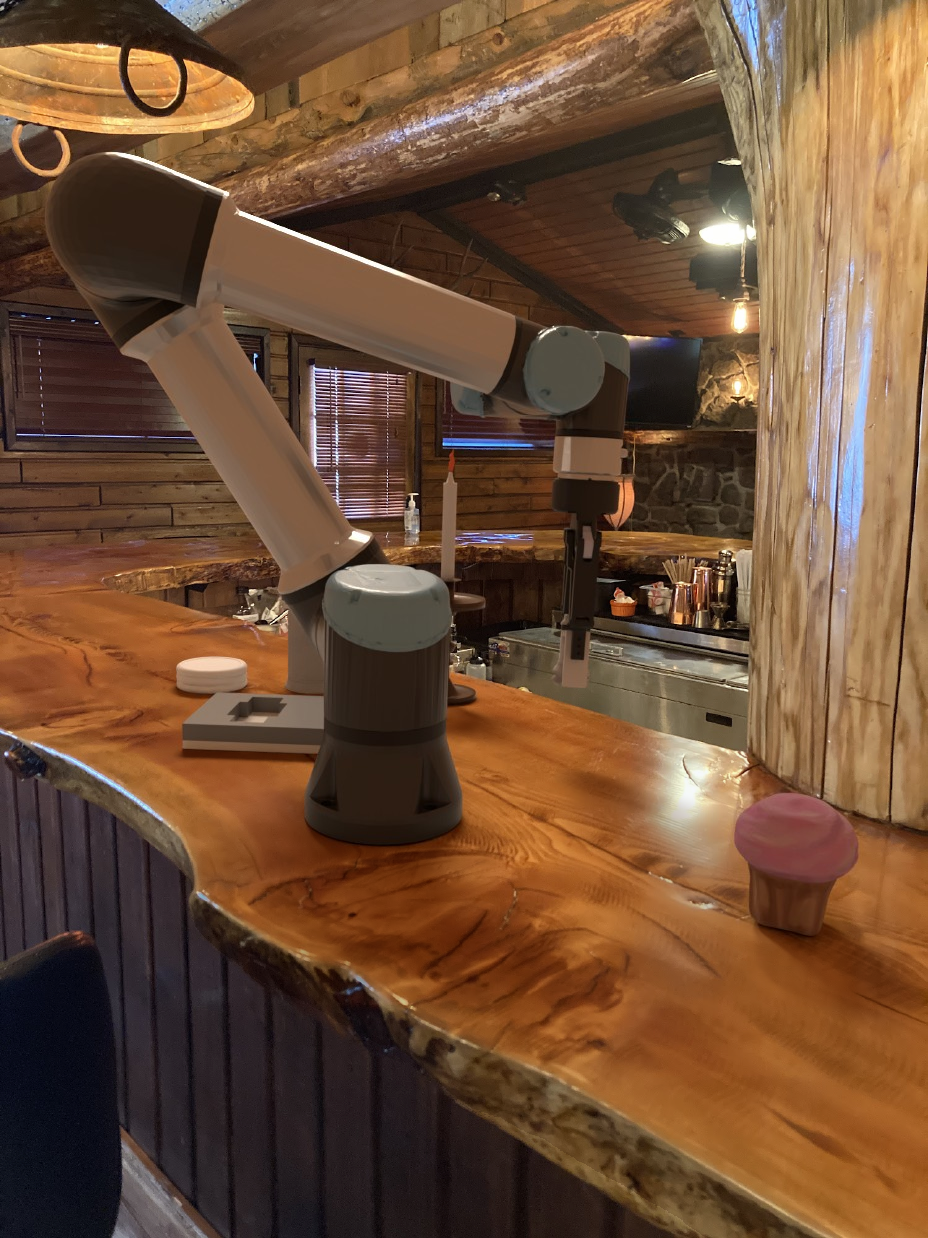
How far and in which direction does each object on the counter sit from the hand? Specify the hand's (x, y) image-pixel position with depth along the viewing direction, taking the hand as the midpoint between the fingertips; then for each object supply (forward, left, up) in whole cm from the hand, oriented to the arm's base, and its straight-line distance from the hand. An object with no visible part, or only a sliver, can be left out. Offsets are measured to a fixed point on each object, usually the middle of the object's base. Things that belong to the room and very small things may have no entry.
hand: (571, 680), depth 107 cm
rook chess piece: (0, 0, -1) cm, 1 cm away
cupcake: (-38, -13, -9) cm, 41 cm away
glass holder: (+30, +34, -9) cm, 46 cm away
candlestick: (+24, +16, -9) cm, 30 cm away
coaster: (+26, +50, -9) cm, 57 cm away
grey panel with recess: (+4, +32, -9) cm, 33 cm away
